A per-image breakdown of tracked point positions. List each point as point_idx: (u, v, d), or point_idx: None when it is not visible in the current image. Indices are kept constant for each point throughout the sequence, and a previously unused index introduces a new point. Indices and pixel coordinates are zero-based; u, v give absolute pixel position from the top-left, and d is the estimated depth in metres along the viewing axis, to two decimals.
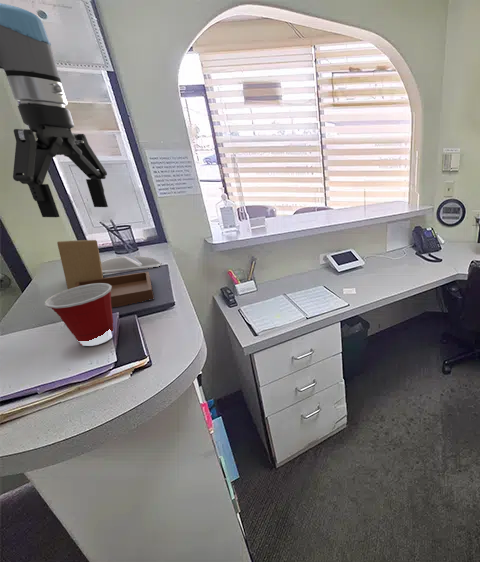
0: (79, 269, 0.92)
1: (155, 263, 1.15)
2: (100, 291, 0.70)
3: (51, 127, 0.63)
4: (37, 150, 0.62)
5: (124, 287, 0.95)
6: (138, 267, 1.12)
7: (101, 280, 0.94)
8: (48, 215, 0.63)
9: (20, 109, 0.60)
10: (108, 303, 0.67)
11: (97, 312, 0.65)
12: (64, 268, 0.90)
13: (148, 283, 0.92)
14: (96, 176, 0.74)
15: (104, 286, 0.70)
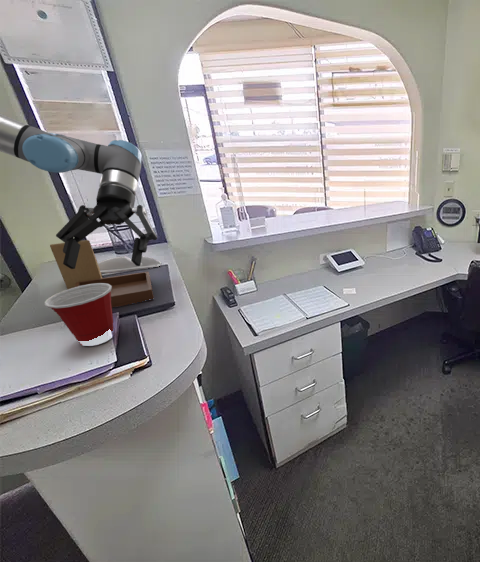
0: (76, 270, 0.92)
1: (155, 263, 1.15)
2: (100, 291, 0.70)
3: None
4: (127, 218, 0.78)
5: (124, 287, 0.95)
6: (138, 267, 1.12)
7: (101, 280, 0.94)
8: (137, 262, 0.75)
9: (127, 192, 0.80)
10: (108, 303, 0.67)
11: (97, 312, 0.65)
12: (61, 271, 0.89)
13: (148, 283, 0.92)
14: (77, 241, 0.75)
15: (104, 286, 0.70)
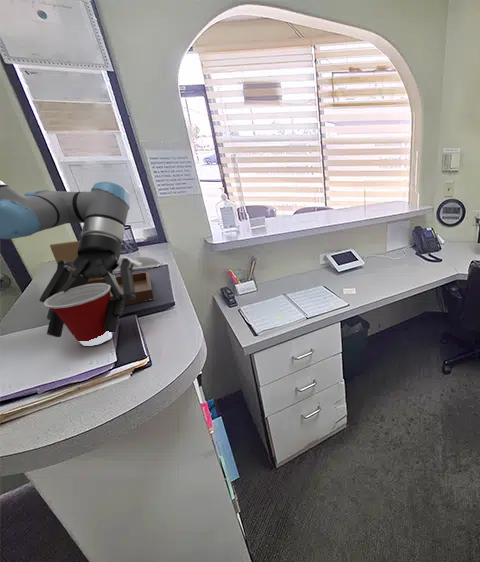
0: None
1: (155, 263, 1.15)
2: (99, 291, 0.70)
3: None
4: (109, 273, 0.70)
5: None
6: (138, 267, 1.12)
7: (101, 280, 0.94)
8: (111, 328, 0.67)
9: (112, 241, 0.72)
10: (107, 303, 0.67)
11: (96, 312, 0.65)
12: None
13: (148, 283, 0.92)
14: None
15: (103, 286, 0.70)
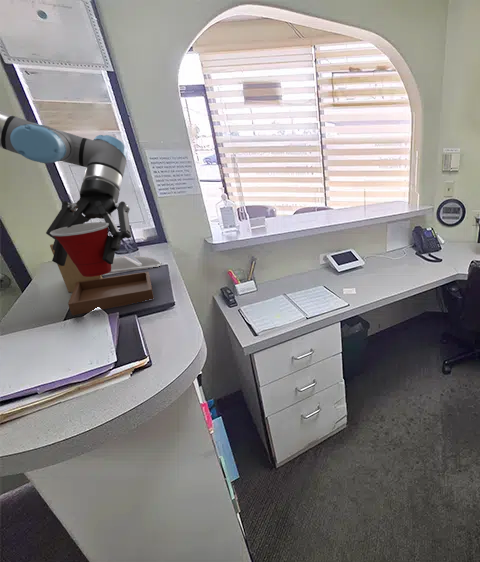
0: (76, 270, 0.92)
1: (155, 263, 1.15)
2: None
3: None
4: (107, 213, 0.79)
5: (124, 287, 0.95)
6: (138, 267, 1.12)
7: (101, 280, 0.94)
8: (109, 260, 0.75)
9: (111, 186, 0.81)
10: (106, 238, 0.76)
11: (95, 243, 0.73)
12: (61, 271, 0.89)
13: (148, 283, 0.92)
14: None
15: (102, 224, 0.78)
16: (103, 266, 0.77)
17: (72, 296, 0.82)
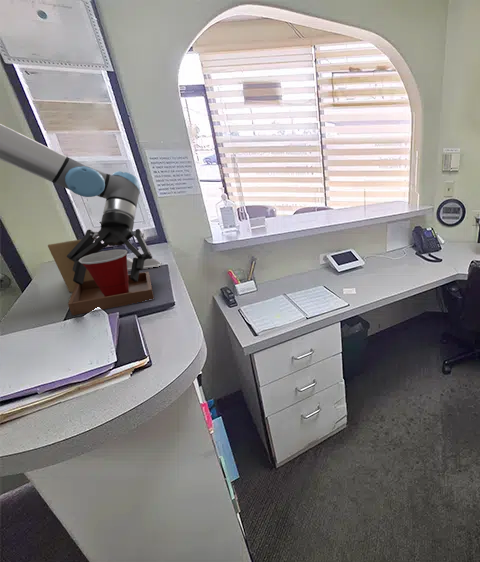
0: None
1: (155, 263, 1.15)
2: (118, 255, 0.91)
3: None
4: (127, 240, 0.92)
5: None
6: None
7: None
8: (135, 278, 0.88)
9: (127, 217, 0.93)
10: (125, 263, 0.89)
11: (117, 269, 0.86)
12: (61, 271, 0.89)
13: (148, 283, 0.92)
14: None
15: (121, 251, 0.91)
16: (122, 288, 0.89)
17: (72, 296, 0.82)
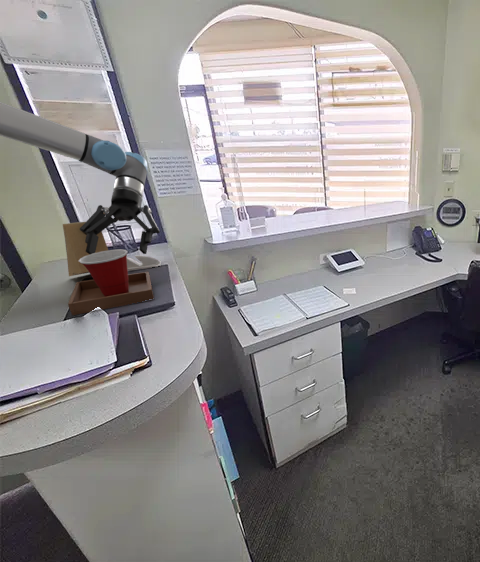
0: None
1: (155, 263, 1.16)
2: (118, 255, 0.91)
3: None
4: (136, 215, 0.97)
5: None
6: (139, 267, 1.12)
7: None
8: (144, 250, 0.94)
9: (136, 194, 0.99)
10: (125, 263, 0.89)
11: (117, 269, 0.86)
12: (74, 250, 0.92)
13: (148, 283, 0.92)
14: (96, 234, 0.94)
15: (121, 251, 0.91)
16: (122, 288, 0.89)
17: (72, 296, 0.82)
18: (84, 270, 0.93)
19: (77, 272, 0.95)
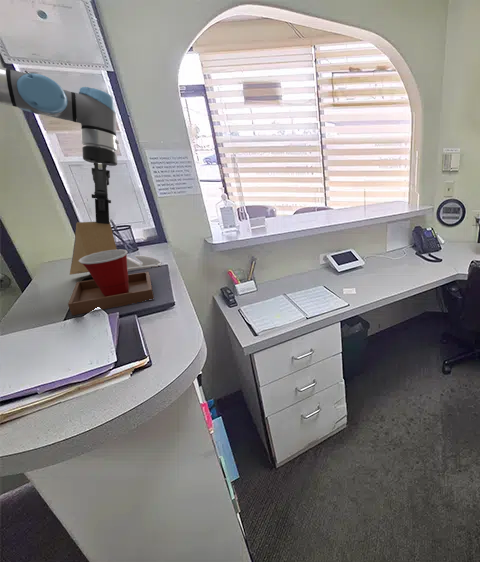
0: (98, 249, 0.96)
1: (156, 262, 1.16)
2: (118, 255, 0.91)
3: (105, 163, 0.89)
4: None
5: None
6: (139, 266, 1.12)
7: None
8: (101, 221, 0.86)
9: (91, 149, 0.86)
10: (125, 263, 0.89)
11: (117, 269, 0.86)
12: (85, 248, 0.93)
13: (148, 283, 0.92)
14: None
15: (121, 251, 0.91)
16: (122, 288, 0.89)
17: (72, 296, 0.82)
18: None
19: (84, 270, 0.95)
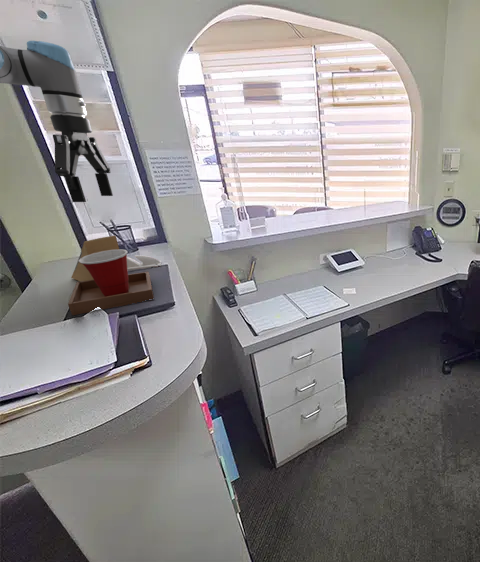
0: None
1: (156, 262, 1.16)
2: (118, 255, 0.91)
3: (76, 132, 0.82)
4: None
5: None
6: (139, 266, 1.12)
7: None
8: (77, 200, 0.82)
9: (54, 119, 0.78)
10: (125, 263, 0.89)
11: (117, 269, 0.86)
12: None
13: (148, 283, 0.92)
14: (103, 171, 0.93)
15: (121, 251, 0.91)
16: (122, 288, 0.89)
17: (72, 296, 0.82)
18: None
19: None
